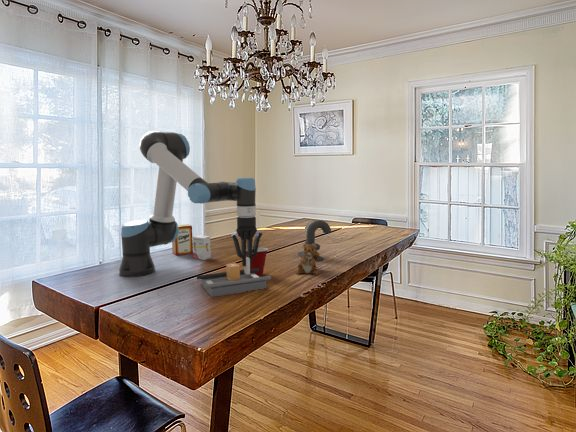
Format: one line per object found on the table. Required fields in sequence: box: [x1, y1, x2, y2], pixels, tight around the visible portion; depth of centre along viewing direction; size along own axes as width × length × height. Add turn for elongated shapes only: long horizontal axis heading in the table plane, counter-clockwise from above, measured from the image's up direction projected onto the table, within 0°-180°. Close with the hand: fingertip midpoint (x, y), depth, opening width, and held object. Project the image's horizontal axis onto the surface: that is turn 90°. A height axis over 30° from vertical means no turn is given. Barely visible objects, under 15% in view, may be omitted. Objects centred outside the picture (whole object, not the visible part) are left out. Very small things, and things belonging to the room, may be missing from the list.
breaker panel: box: [200, 273, 267, 298], centre depth 153 cm, size 22×16×3 cm
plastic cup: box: [246, 247, 269, 277], centre depth 170 cm, size 11×11×12 cm
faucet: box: [297, 219, 332, 262], centre depth 202 cm, size 18×16×20 cm
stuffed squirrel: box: [295, 243, 321, 275], centre depth 175 cm, size 10×14×13 cm
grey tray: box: [196, 268, 272, 290], centre depth 152 cm, size 27×15×2 cm, turn 116°
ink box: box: [192, 234, 212, 261], centre depth 200 cm, size 9×5×12 cm, turn 56°
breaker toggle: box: [225, 262, 241, 281], centre depth 152 cm, size 4×5×6 cm
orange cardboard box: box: [171, 224, 193, 257], centre depth 211 cm, size 10×6×16 cm
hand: (247, 273), depth 155 cm, fingers closed
